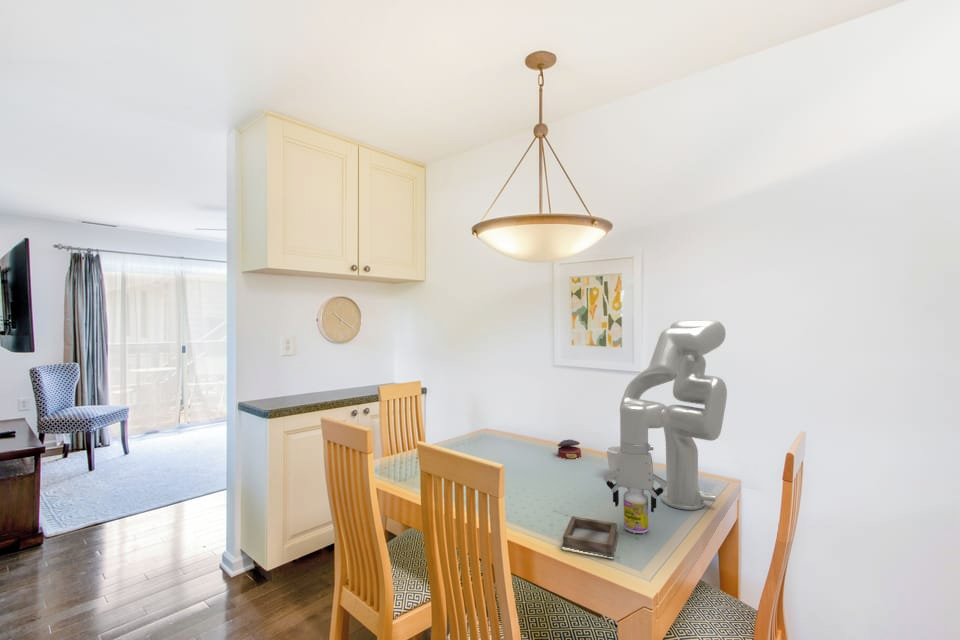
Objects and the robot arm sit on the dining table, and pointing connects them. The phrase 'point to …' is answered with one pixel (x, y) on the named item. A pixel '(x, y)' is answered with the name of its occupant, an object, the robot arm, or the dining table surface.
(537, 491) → the dining table surface
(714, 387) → the robot arm
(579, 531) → the shallow square brown tray
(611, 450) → the dixie cup
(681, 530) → the dining table surface
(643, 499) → the supplement bottle
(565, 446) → the canned food
